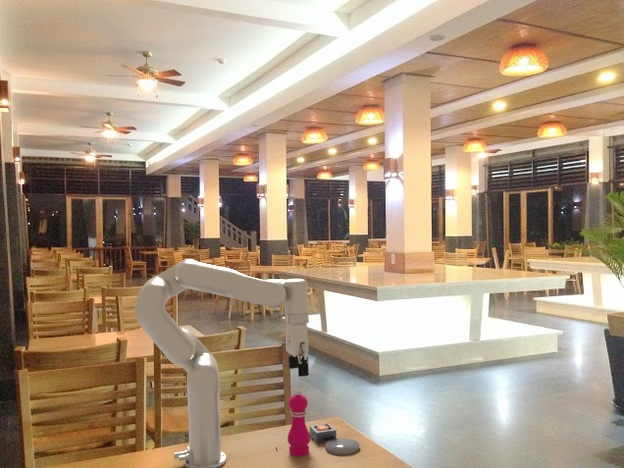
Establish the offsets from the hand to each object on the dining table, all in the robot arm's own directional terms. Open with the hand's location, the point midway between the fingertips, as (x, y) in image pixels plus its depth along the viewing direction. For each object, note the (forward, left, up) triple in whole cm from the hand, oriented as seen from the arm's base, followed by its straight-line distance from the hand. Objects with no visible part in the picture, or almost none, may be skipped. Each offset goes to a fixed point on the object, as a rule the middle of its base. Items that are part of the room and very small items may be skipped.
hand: (298, 371), depth 179 cm
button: (+11, +8, -24) cm, 28 cm away
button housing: (+11, +8, -26) cm, 29 cm away
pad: (+14, -2, -26) cm, 29 cm away
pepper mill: (0, 0, -26) cm, 26 cm away
